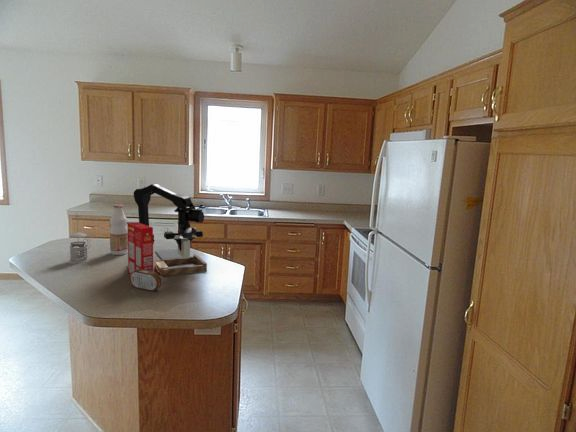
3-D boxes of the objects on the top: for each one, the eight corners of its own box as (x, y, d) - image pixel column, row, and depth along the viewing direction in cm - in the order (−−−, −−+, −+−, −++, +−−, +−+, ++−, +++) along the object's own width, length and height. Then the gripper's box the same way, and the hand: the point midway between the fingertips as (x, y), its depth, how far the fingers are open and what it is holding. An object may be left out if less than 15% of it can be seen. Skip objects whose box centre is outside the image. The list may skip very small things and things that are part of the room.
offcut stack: (160, 275, 185) (160, 268, 184) (155, 267, 196) (154, 261, 195) (168, 274, 187) (168, 267, 186) (163, 266, 198) (163, 260, 197)
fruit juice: (108, 255, 212) (107, 206, 207) (112, 251, 221) (111, 203, 216) (126, 255, 214) (125, 206, 209) (129, 250, 223) (128, 204, 218)
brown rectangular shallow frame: (163, 276, 183) (163, 268, 183) (155, 265, 198) (155, 258, 198) (206, 270, 194) (206, 263, 193) (196, 261, 209) (196, 254, 209)
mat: (162, 260, 208) (162, 259, 208) (155, 252, 223) (155, 250, 223) (187, 257, 215) (187, 256, 215) (179, 250, 230) (179, 248, 230)
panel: (184, 258, 190) (184, 241, 188) (177, 252, 200) (177, 236, 198) (189, 258, 191) (190, 240, 190) (183, 252, 202) (183, 235, 200)
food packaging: (153, 279, 178) (152, 227, 174) (142, 281, 175) (141, 228, 170) (138, 271, 188) (138, 222, 184) (128, 273, 184) (127, 223, 180)
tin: (162, 290, 165) (162, 272, 163) (157, 293, 162) (157, 274, 160) (134, 285, 170) (133, 267, 168) (129, 287, 167) (128, 269, 165)
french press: (63, 261, 197) (61, 214, 193) (83, 256, 208) (81, 211, 203) (77, 264, 193) (75, 216, 189) (96, 259, 204) (94, 213, 200)
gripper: (169, 225, 181) (169, 256, 184) (206, 223, 191) (206, 252, 193) (163, 220, 190) (163, 250, 193) (199, 219, 200) (199, 247, 203)
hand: (183, 250), depth 195 cm, fingers closed on panel, 3 cm apart
